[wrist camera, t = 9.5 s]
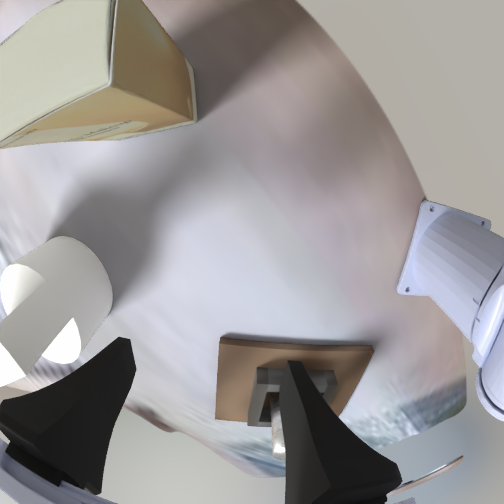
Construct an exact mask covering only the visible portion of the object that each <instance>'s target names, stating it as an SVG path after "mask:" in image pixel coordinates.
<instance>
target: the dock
mask: <svg viewBox="0 0 504 504" xmlns="http://www.w3.org/2000/svg"><path fill="white" fill-rule="evenodd" d="M373 353H374V350H373V348H372V346H331V345H303V344H285V343H271V342H259V341H248V340H238V339H229V338H220V342H219V356H218V373H217V392H216V412H215V419H218V420H227V421H238V422H248V426H257V427H272V425H271V404H270V392H279V388H280V384H281V381H282V378H283V374H284V371H285V367H286V364H287V360H293V361H301V362H302V363H303V365H304V367H305V368H306V370H307V372H308V374H309V376H310V377H311V379H312V381H313V382H314V384H315V386H316V387H317V389H318V390H319V392H320V393H321V395H322V396H323V398H324V399H325V401H326V402H327V403H328V405H329V406H330V407H331V409H332V410H333V411H334V413H335V414H336V415H337V416H338V417H339V415H340V413H341V412H342V410H343V408H344V407H345V405H346V403H347V402H348V400H349V398H350V396H351V395H352V393H353V391H354V389H355V388H356V386H357V384H358V382H359V380H360V378H361V376H362V375H363V373H364V371H365V369H366V367H367V365H368V363H369V361H370V359H371V357H372V355H373Z"/></svg>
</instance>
